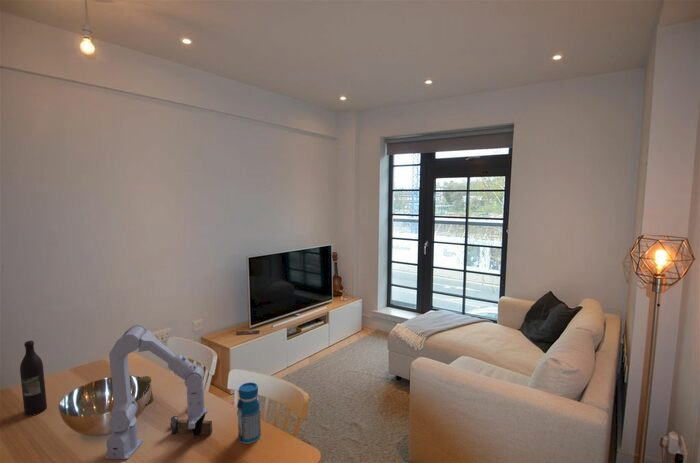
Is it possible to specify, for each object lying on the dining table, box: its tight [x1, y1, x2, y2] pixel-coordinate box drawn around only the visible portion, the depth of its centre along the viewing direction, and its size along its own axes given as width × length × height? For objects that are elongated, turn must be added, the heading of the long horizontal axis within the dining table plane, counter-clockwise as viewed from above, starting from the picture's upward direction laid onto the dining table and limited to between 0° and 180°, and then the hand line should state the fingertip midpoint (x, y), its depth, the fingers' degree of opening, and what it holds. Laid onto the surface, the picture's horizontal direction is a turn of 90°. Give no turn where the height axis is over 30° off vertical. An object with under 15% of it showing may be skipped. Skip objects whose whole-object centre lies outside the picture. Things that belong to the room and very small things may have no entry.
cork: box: [137, 375, 154, 405], centre depth 158 cm, size 6×6×11 cm
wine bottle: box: [19, 340, 48, 416], centre depth 149 cm, size 7×7×30 cm
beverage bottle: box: [236, 382, 262, 445], centre depth 135 cm, size 8×8×20 cm
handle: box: [177, 419, 213, 435], centre depth 138 cm, size 13×2×5 cm, turn 88°
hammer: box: [169, 415, 179, 436], centre depth 148 cm, size 22×4×6 cm, turn 178°
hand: (197, 434), depth 135 cm, fingers closed
